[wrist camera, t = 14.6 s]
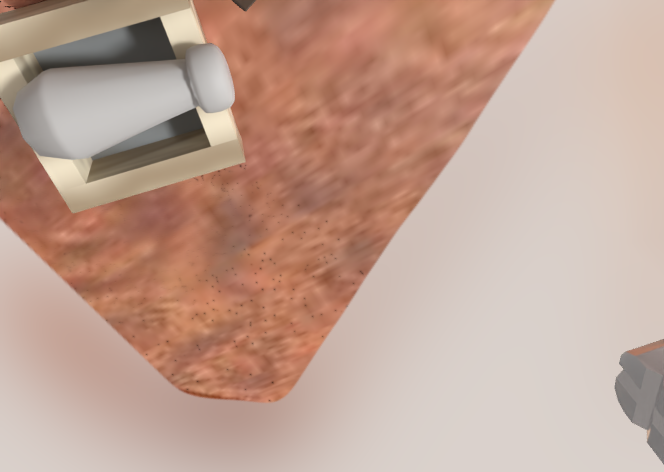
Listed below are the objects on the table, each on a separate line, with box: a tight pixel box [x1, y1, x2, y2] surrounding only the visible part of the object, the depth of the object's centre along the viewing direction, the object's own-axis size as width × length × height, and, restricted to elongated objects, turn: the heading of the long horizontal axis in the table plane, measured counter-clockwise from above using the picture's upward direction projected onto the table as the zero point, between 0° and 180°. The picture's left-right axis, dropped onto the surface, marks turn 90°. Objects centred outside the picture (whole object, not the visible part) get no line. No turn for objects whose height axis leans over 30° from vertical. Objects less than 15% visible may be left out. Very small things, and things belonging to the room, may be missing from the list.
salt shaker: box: [13, 43, 235, 160], centre depth 35 cm, size 6×6×13 cm
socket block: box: [0, 0, 245, 213], centre depth 39 cm, size 14×14×4 cm
